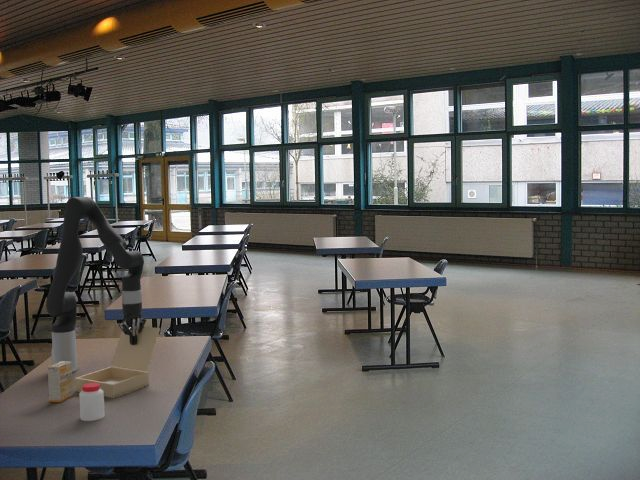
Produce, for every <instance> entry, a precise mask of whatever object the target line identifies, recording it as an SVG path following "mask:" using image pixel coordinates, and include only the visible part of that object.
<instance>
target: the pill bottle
mask: <svg viewBox="0 0 640 480" xmlns="http://www.w3.org/2000/svg"><path fill="white" fill-rule="evenodd" d="M82 388H83V390H82V391H81V392H79V395H78V397H79V399H78V400H79V416H80V420H81V421H83V422H93V421H94V422H95V421H98V420H99V421H100V420H101V419H103V418H105V413H106V412H105V396H104V391H103V390H102V389H101V388H100V384H99V383H87V384H84V385H83V386H82Z"/></svg>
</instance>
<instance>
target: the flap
mask: <svg viewBox="0 0 640 480" xmlns="http://www.w3.org/2000/svg"><path fill="white" fill-rule="evenodd" d="M138 330H139V329H138ZM160 331H161V328H160V327H150V326H144V327H143V329H142V331H141V333H138V335H137V344H136V345H131V344H130V339H129V335H125V334H124V332H123V331H122V330H121V333H120V336H119V339H118V342H117V346H116V347H115V352H114V355H113V357H112V361H111V364H110V367H117V368H123V369H130V370H136V371H143V372H148V371H149V368H150V364H151V360H152V358H153V354H154V350H155V348H156V344H157V340H158V337H159V335H160V334H159V333H160Z"/></svg>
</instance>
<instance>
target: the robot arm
mask: <svg viewBox="0 0 640 480" xmlns="http://www.w3.org/2000/svg"><path fill="white" fill-rule="evenodd" d="M81 220H88V221H89V222H90V223H91V224H93V225H94V226H95V228H96V231H97V235H98V238H99V240H100V242H101V243H102V244H103V246H104V247H105V248H106V249H107V250H108V251H109V253H111V255H112V258H113V260H114V262H115V264H116V265H117V267H119V268H120V269H122V270H125V271H126V270H128V271H127V274H125V275H123V276H122V279H121V288H122V293H121V307H122V315H123V318H122V320H123V321H122V322H121V323H119V324H118V327H119V328H120V329H121V332H122V331H123V332H124V334H125V335H129V339H130V344H131V345H136V344H137V335H138V333H141V331H142V329H143V327H145V324H146V322H147V319H145V318H143V317H142V313H143V299H142V298H143V297H142V287H141V286H142V285H141V283H142V282H141V278H142V275H143V269H144V264H145V263H144V262H145V261H144V256H143V254H142V252H141V251H139V250H128V251H127V250H126V248H127V242H126V241H125V239H124V238H123V237H122V236H121V235H120V234H119V232H117V231H116V229H114V228H113V226H112V225H111V223H110V222H109V221H108V218H106V216H105V214H104V213H103V211H102V210H101V209H100V207H99V205H98V204H97V203H96V201H95V200H94V199H93V198H91V197H89V196H73V197H70V198H69V199H68V200H67V202H66V203H65V207H64V215H63V224H62V225H63V227H62V231H61V232H62V233H61V237H60V238H61V239H60V245H59V248H58V253H57V259H56V263H55V268H54V273H53V276H52V281H51V285H50V288H49V291H48V294H47V297H46V300H45V309H46V312H47V313H48V315H49V316H50V317H58V318H57V320H56V321H55V322H54V323H52V325H51V342H52V348H51V350H50V354H51V355H50V356H51V365H53V364H55V363H58V362H60V361H71V363H72V373H75V372H76V371H77V370H78V363H77V361H78V360H77V342H76V337H77V336H76V325H77V320H78V319H77V315H78V314H77V313H78V312H77V310H78V306H77V305H78V304H77V299H76V296H75V295H74V293H72V292H70V291H66V290H67V287H68V286H69V283H70V282H71V280H72V279H73V278H74V276H75V275H76V274H77V271H78V270H79V268H80V265H81V263H82V257H83V253H84V252H83V251H84V250H83V246H82V243H81V239H80V237H79V227H80V223H81ZM138 329H139V330H138Z"/></svg>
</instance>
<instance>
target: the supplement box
mask: <svg viewBox="0 0 640 480" xmlns="http://www.w3.org/2000/svg"><path fill="white" fill-rule="evenodd" d="M47 377H48V378H47V380H48V399H49V400H48V401H49V403H62V402H63V401H65V400H67V399H68V398H70V397H73V395H74V394H73V391H74V390H73V372H72V363H71V361H60V362H58V363H55V364H53V365H52V364H50V365H48V366H47Z"/></svg>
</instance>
